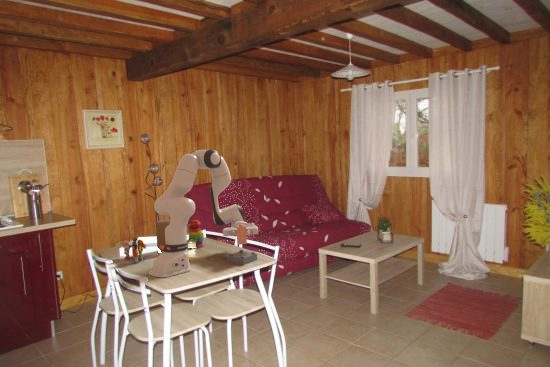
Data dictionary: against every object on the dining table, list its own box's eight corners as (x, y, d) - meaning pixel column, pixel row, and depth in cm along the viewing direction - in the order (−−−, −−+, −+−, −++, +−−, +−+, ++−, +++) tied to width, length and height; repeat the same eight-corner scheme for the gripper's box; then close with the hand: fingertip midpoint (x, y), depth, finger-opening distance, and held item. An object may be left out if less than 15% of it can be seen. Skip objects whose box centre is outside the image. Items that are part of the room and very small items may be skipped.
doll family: (121, 257, 235) (120, 236, 234) (137, 254, 242) (135, 233, 240) (135, 265, 219) (134, 242, 218) (152, 261, 226) (150, 239, 225)
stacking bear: (187, 245, 261) (186, 219, 259) (203, 244, 263) (202, 218, 262) (188, 249, 251) (186, 221, 249) (204, 248, 253) (203, 220, 251)
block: (178, 249, 250) (176, 218, 248) (172, 254, 240) (171, 221, 239) (163, 249, 251) (161, 218, 249) (156, 254, 241) (155, 221, 240)
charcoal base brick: (243, 265, 214) (243, 257, 214) (227, 262, 221) (226, 254, 221) (257, 260, 224) (256, 252, 224) (241, 257, 231) (240, 249, 231)
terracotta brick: (246, 244, 220) (246, 225, 219) (237, 244, 219) (237, 225, 218) (245, 241, 225) (245, 223, 224) (237, 242, 224) (236, 223, 223)
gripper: (221, 224, 232) (222, 229, 218) (256, 222, 235) (259, 227, 222) (222, 235, 233) (223, 240, 219) (256, 233, 236) (259, 238, 222)
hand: (241, 234), depth 220 cm, fingers closed on terracotta brick, 5 cm apart
